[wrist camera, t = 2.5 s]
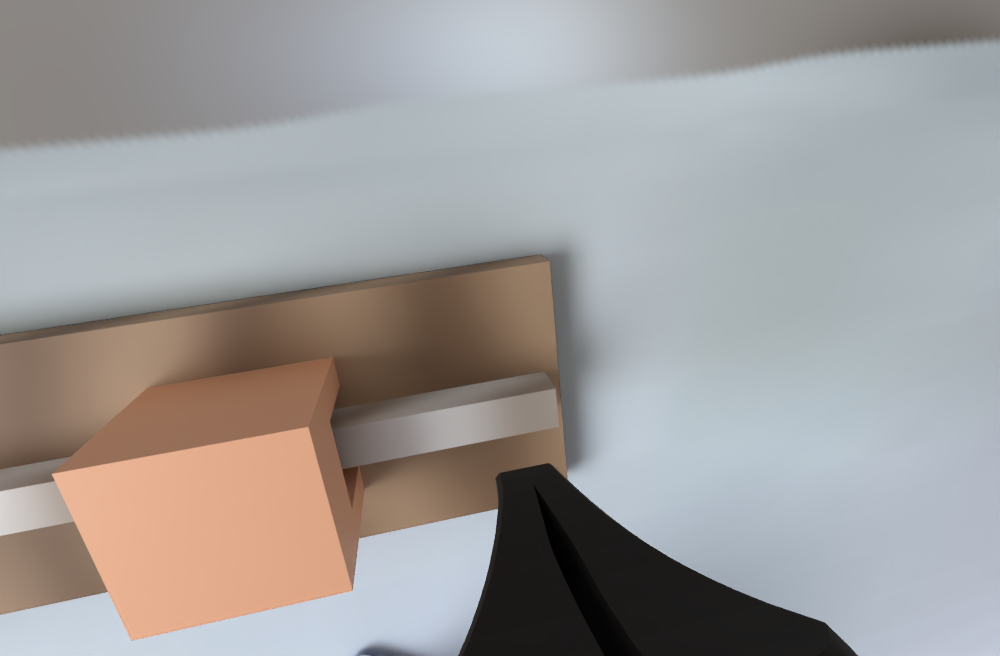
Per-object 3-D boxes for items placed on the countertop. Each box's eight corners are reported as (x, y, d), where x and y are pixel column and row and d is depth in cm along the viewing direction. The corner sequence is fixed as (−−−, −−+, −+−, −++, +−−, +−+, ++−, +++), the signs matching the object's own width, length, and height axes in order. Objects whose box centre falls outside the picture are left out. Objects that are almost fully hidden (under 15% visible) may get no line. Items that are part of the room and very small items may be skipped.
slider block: (333, 356, 16) (308, 427, 12) (364, 488, 18) (352, 590, 14) (147, 387, 15) (51, 473, 11) (198, 522, 17) (131, 640, 13)
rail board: (540, 254, 18) (607, 302, 12) (559, 475, 21) (620, 599, 15) (-641, 431, 13) (-1432, 638, 8) (-402, 675, 16) (-840, 956, 11)
